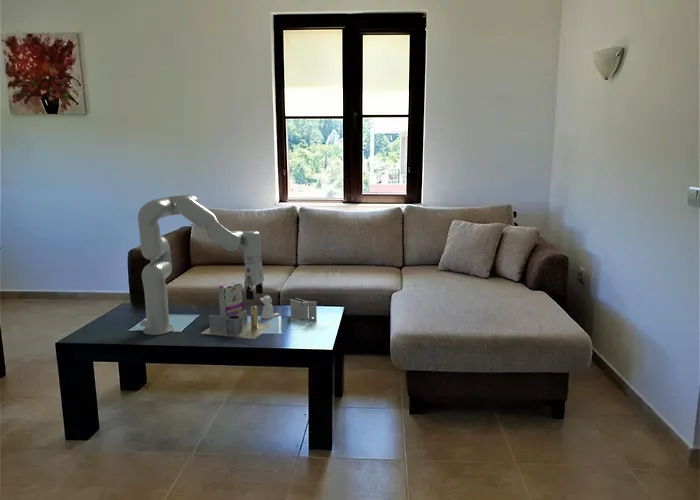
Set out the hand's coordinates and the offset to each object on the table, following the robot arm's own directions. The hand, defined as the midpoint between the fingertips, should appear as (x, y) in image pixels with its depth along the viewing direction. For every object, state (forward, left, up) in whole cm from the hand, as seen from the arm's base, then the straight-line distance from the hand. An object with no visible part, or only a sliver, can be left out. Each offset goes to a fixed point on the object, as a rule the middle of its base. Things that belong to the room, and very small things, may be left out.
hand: (254, 296), depth 243 cm
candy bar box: (-20, +16, -16) cm, 31 cm away
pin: (0, 0, -15) cm, 15 cm away
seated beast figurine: (-1, +18, -16) cm, 24 cm away
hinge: (+16, +20, -16) cm, 30 cm away
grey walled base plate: (-7, -3, -16) cm, 18 cm away
